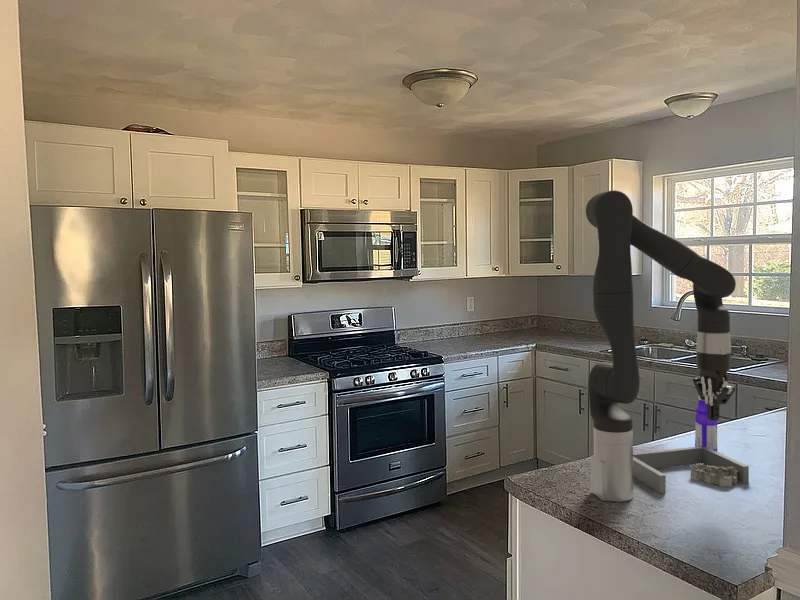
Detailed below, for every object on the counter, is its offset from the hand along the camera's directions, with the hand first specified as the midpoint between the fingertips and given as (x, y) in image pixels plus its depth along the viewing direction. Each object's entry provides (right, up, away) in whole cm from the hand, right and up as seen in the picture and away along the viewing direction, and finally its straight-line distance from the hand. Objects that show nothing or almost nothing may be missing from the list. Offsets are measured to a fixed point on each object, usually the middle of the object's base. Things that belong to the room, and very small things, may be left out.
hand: (713, 419), depth 153 cm
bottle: (+14, -16, +31) cm, 38 cm away
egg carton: (+5, -18, +10) cm, 21 cm away
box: (-1, -18, +12) cm, 22 cm away
